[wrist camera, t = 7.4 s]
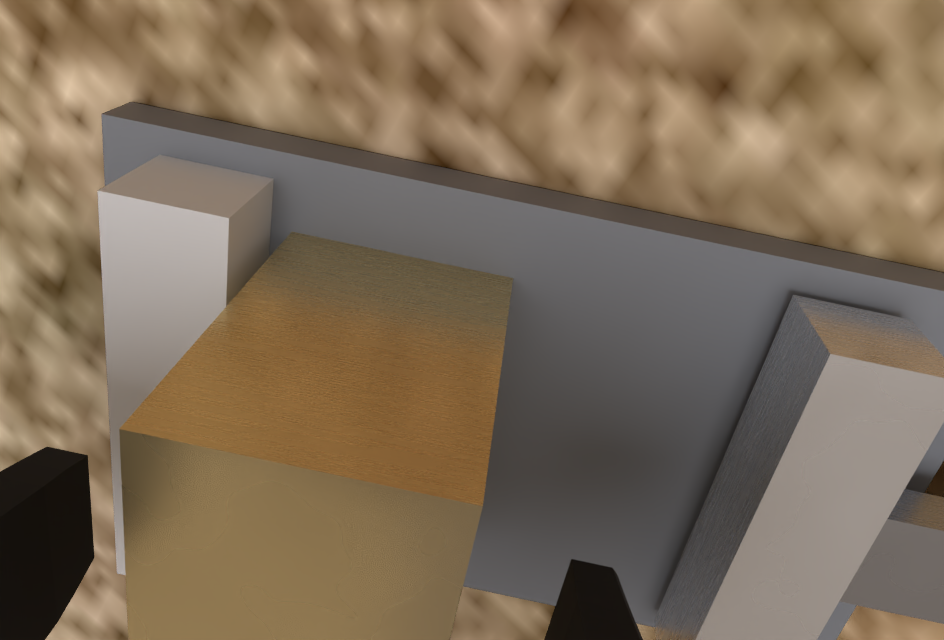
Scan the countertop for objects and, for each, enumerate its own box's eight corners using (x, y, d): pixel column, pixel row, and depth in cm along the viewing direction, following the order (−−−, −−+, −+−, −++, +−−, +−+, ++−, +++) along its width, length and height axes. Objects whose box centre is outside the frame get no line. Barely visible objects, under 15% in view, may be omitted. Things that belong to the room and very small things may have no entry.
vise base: (809, 626, 18) (852, 748, 15) (142, 484, 18) (69, 580, 15) (1002, 285, 14) (1109, 371, 11) (130, 101, 14) (28, 143, 11)
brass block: (455, 529, 16) (405, 819, 11) (271, 490, 16) (133, 760, 11) (513, 278, 14) (483, 505, 8) (292, 231, 14) (119, 428, 8)
